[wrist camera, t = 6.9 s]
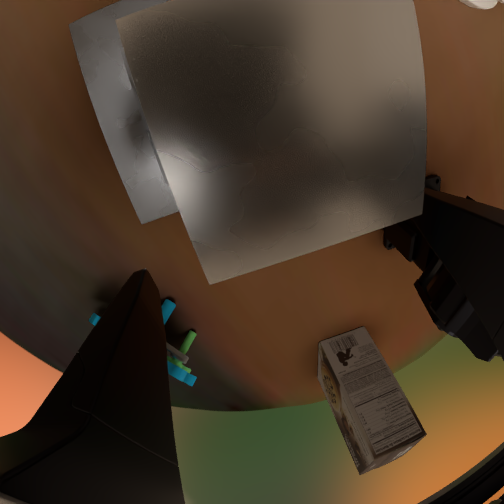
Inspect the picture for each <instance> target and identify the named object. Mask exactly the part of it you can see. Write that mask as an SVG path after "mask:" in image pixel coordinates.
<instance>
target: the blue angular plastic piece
mask: <svg viewBox="0 0 504 504" xmlns="http://www.w3.org/2000/svg"><path fill="white" fill-rule="evenodd" d="M175 307H176V305H175V304H174V303H173V302H171V301H170V300H168V299H166V300H165V301H164V303H163V305H162V306H161V308H162V314H163V321H164V325H165V323H166V322H167V320H168V318H169V317H170V315H171V313H172V312H173V310H174V308H175ZM100 318H101V317H99V316H98V315H96V314H95V313H93V314H92V316H91V317H90V319H89V322H90V323H92V324H93V325H94V326H95V325H96V324H97V322H98V321H99V319H100ZM195 336H196V333H194V332H193V331H191V330H190V331H189V333H188V335H187V336H186V338H185V340H184V342H183V343H182V345H181V347H180V349H179V350H177V349H175V348H174V347H173V346H171V345H170V344H168V343H167V342H166V345H167V350H168V351H169V352H171V355H170V356H172V357H173V358H170V357H169V356H167V363H168V374H170V375H171V376H173V377H175V378H177V379H178V380H180V381H182V382H185V383H187V384H189V385H190V386H193V384H194V382H195V380H196V378H197V377H195V376H193V375H191V374H189V373H190V372H191V369H189V368H187V367H185V366H184V365H182V363H184V364H186V362H187V360H188V358H189V357H187V356H186V355H185V354H186V352H187V350H188V349H189V347H190V345H191V343H192V341H193V340H194V338H195Z"/></svg>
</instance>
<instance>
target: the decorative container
mask: <svg viewBox="0 0 504 504" xmlns="http://www.w3.org/2000/svg"><path fill="white" fill-rule="evenodd" d="M459 1H460V2H462V3H464V4H465V5H467V6H469V7H473V8H477V9H490V8H493V7H494V6H495V5H496V4H497V2H501V3H504V0H459Z"/></svg>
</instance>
